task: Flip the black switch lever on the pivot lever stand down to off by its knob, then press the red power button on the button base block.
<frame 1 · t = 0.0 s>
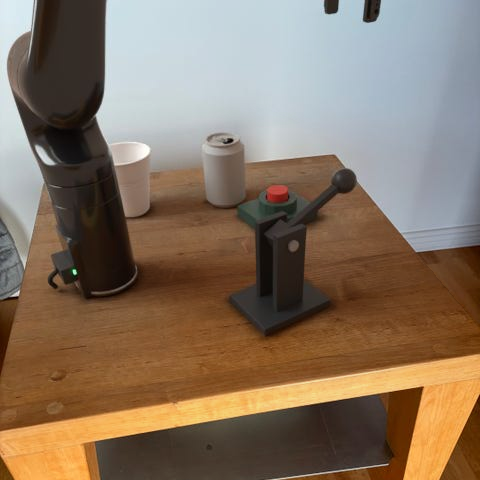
hand: (349, 17, 75), 29 cm above the table, tool pointing down, fingers open, 8 cm apart
switch lever: (312, 207, 64), point 13 cm above the table, hinge at 25.0°
power button: (277, 194, 86), point 4 cm above the table, slide at 0.1 cm
can: (226, 201, 95), on the table
button base block: (277, 217, 89), on the table
cup: (133, 211, 93), on the table
pivot lever stand: (279, 303, 70), on the table
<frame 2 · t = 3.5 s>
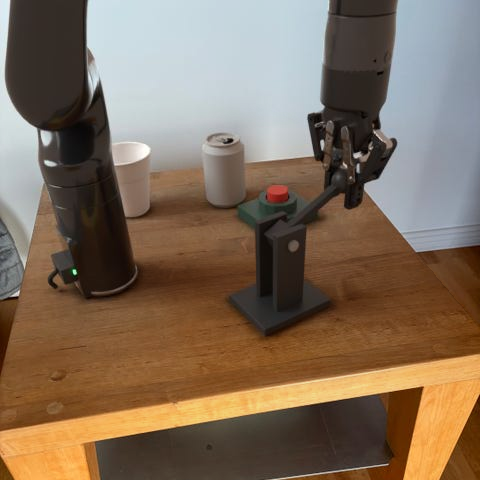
hand: (342, 201, 66), 13 cm above the table, tool pointing down, fingers closed on switch lever, 3 cm apart
switch lever: (312, 207, 64), point 13 cm above the table, hinge at 25.0°, touching gripper
everything else where it was.
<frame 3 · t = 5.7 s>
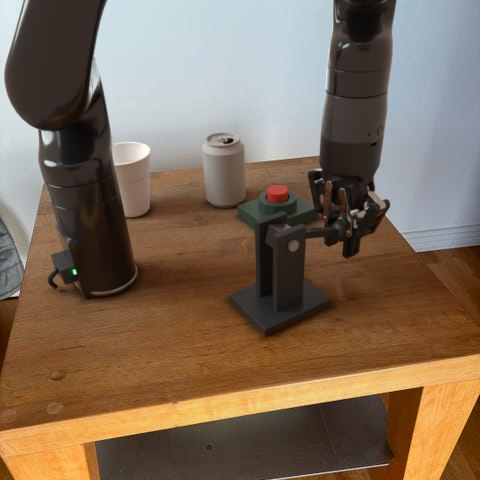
hand: (340, 249, 71), 5 cm above the table, tool pointing down, fingers closed on switch lever, 3 cm apart
switch lever: (313, 233, 66), point 10 cm above the table, hinge at -15.0°, touching gripper
everything else where it was.
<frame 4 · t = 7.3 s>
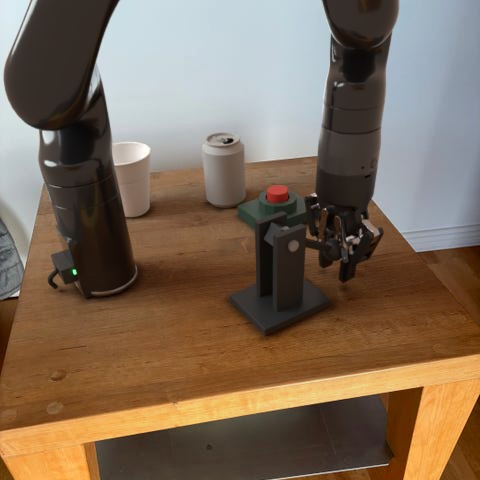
hand: (335, 272, 73), 1 cm above the table, tool pointing down, fingers open, 4 cm apart
switch lever: (309, 243, 67), point 8 cm above the table, hinge at -30.5°
everything else where it was.
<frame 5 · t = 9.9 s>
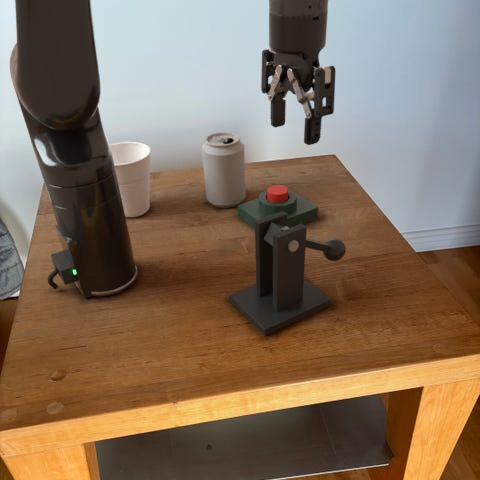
hand: (294, 134, 74), 17 cm above the table, tool pointing down, fingers open, 8 cm apart
nothing on the table moved.
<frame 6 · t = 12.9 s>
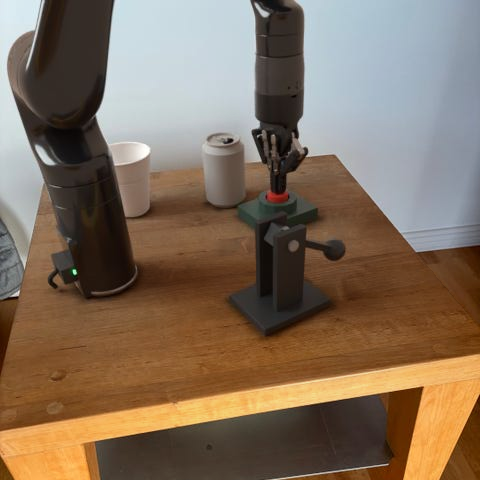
hand: (278, 192, 86), 5 cm above the table, tool pointing down, fingers closed
power button: (277, 196, 86), point 4 cm above the table, slide at -0.4 cm, touching gripper
everything else where it was.
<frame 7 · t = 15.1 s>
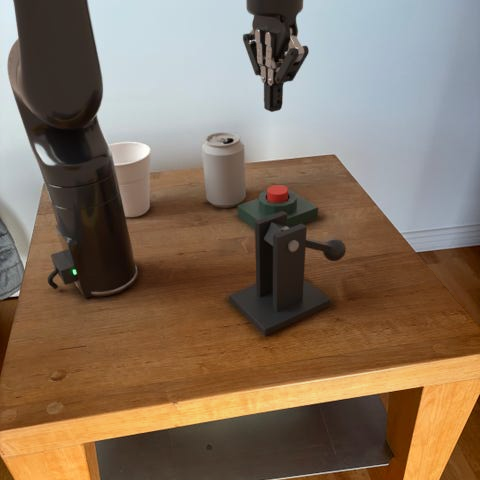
hand: (273, 109, 75), 19 cm above the table, tool pointing down, fingers closed
power button: (277, 194, 86), point 4 cm above the table, slide at 0.1 cm
everything else where it was.
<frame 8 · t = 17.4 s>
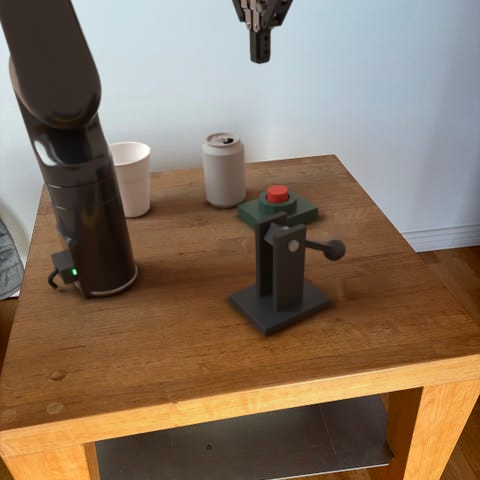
hand: (260, 62, 66), 27 cm above the table, tool pointing down, fingers closed
nothing on the table moved.
at the end: switch lever at -30° (first picture: +25°); power button pushed in 1.1 cm at the most during the clip, back to where it started at the end; power button slide at 0.1 cm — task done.
